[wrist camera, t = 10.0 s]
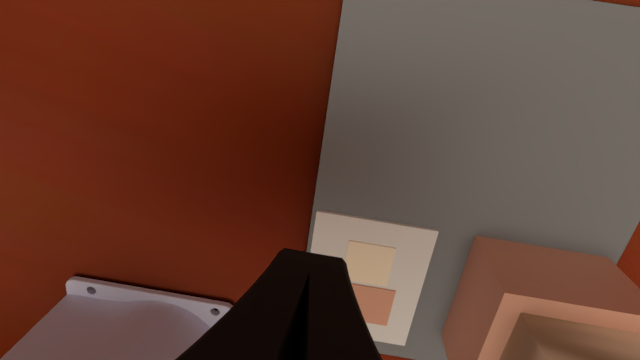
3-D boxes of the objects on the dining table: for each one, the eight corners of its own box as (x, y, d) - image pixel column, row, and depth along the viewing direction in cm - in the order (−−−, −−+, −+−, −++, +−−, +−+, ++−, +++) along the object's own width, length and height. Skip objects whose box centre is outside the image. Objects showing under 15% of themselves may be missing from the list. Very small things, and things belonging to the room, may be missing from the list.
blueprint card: (299, 324, 21) (298, 329, 21) (317, 209, 18) (316, 212, 18) (404, 342, 21) (404, 347, 21) (438, 229, 18) (439, 232, 18)
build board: (296, 324, 22) (293, 338, 22) (349, -33, 15) (348, -36, 14) (545, 367, 22) (553, 383, 21) (720, 22, 15) (744, 23, 14)
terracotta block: (441, 334, 20) (459, 405, 17) (475, 235, 18) (504, 292, 14) (558, 354, 20) (601, 430, 17) (608, 257, 18) (671, 321, 14)
